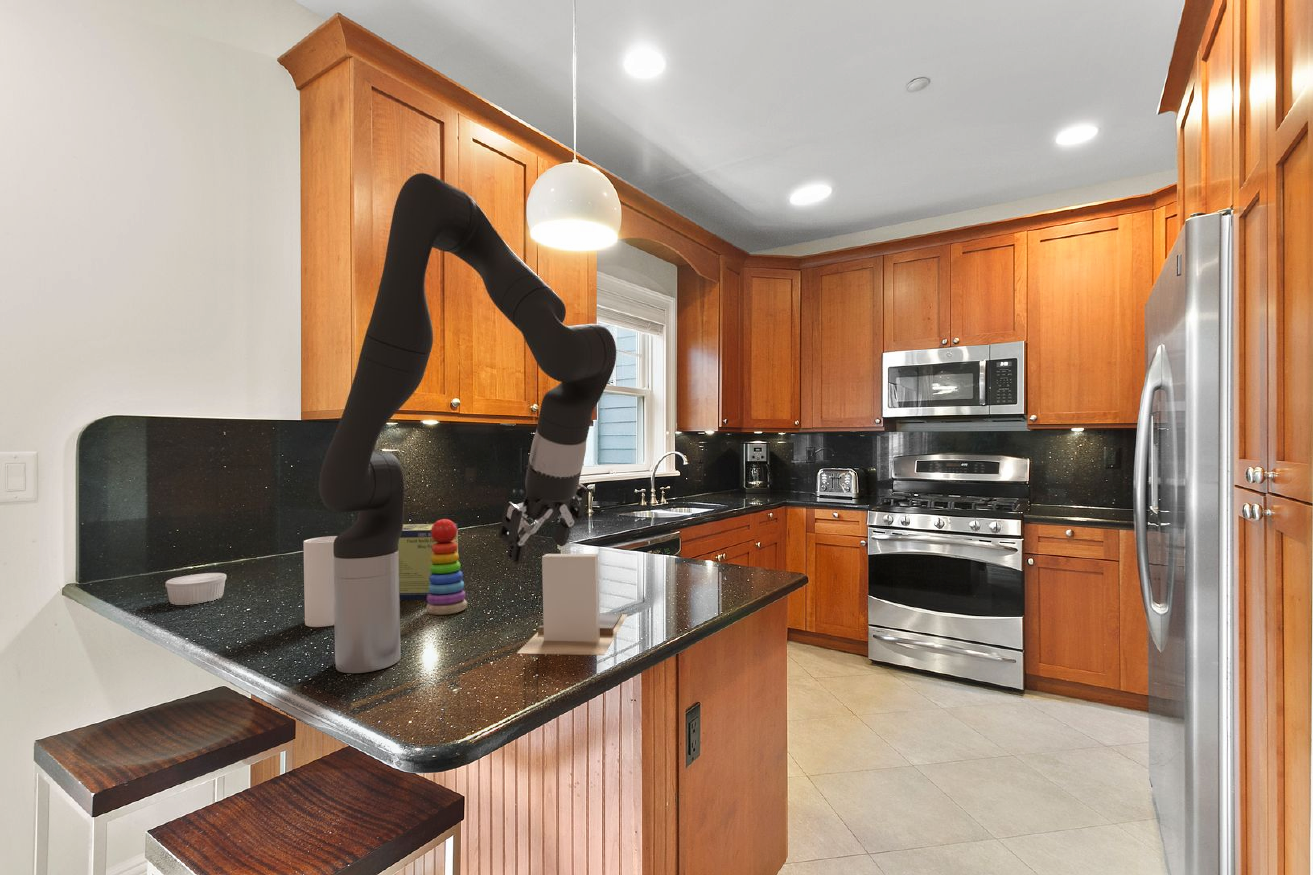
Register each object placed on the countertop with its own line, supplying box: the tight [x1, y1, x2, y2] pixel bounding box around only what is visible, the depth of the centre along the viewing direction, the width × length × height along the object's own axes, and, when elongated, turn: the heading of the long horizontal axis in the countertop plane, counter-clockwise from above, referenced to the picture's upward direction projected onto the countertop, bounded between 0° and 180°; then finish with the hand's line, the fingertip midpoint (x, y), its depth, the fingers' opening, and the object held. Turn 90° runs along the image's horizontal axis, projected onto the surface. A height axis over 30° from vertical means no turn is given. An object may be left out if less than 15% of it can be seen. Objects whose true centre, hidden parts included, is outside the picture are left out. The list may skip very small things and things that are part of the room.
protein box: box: [398, 522, 459, 601], centre depth 140 cm, size 10×16×16 cm
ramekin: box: [165, 572, 228, 605], centre depth 139 cm, size 11×11×5 cm
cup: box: [302, 535, 338, 628], centre depth 120 cm, size 8×8×16 cm
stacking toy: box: [425, 518, 468, 616], centre depth 125 cm, size 8×8×19 cm
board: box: [516, 612, 628, 656], centre depth 106 cm, size 22×14×2 cm, turn 173°
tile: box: [541, 553, 600, 641], centre depth 103 cm, size 3×9×14 cm, turn 83°
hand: (537, 551), depth 93 cm, fingers open, 8 cm apart
